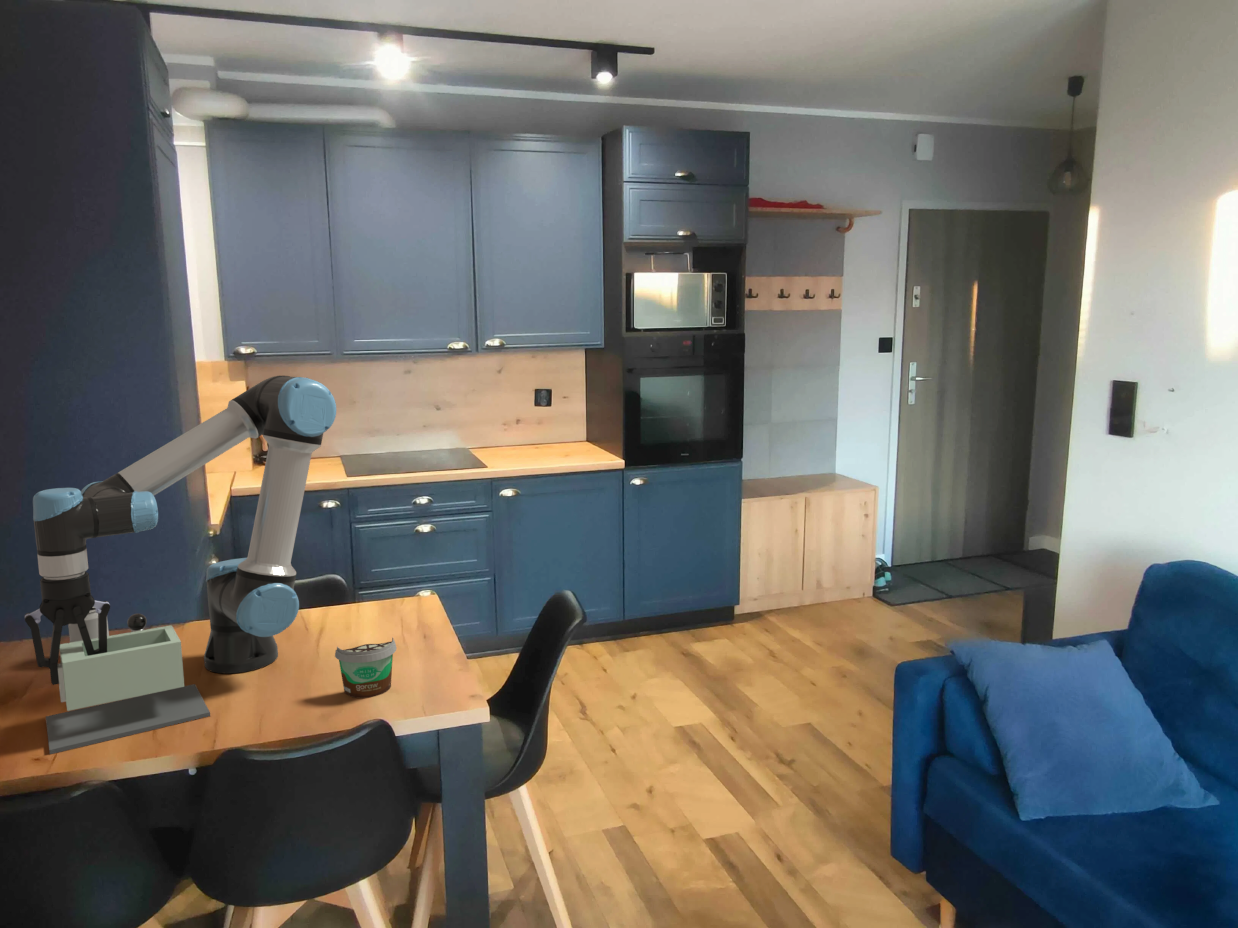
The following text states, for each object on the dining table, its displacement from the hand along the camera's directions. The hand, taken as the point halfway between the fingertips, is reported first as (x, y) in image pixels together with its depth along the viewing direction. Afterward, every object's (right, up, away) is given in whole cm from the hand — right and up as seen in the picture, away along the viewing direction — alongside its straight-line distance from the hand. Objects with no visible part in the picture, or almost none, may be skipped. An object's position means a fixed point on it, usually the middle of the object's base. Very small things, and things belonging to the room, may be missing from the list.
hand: (76, 696), depth 161 cm
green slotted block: (+6, 0, +4) cm, 8 cm away
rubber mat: (+6, -6, +6) cm, 10 cm away
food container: (+50, -4, +17) cm, 53 cm away
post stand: (0, -3, +23) cm, 23 cm away
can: (-18, -1, +35) cm, 39 cm away
